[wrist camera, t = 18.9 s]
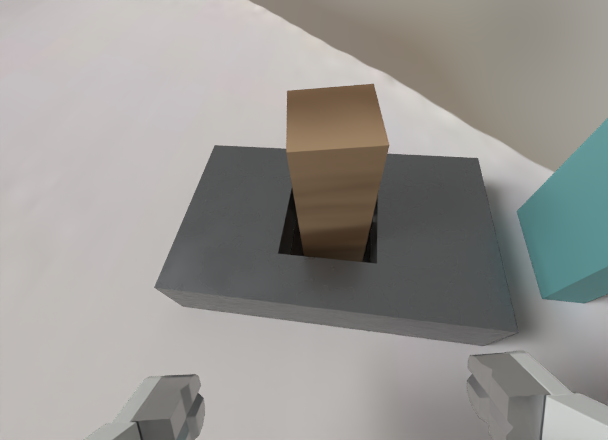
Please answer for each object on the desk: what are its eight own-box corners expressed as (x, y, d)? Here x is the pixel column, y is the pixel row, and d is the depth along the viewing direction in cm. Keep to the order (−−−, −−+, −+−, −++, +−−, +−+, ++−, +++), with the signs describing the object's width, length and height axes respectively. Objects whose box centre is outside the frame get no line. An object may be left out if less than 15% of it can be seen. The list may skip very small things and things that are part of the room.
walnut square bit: (360, 267, 21) (389, 145, 11) (306, 270, 22) (286, 152, 11) (354, 221, 23) (373, 83, 13) (305, 224, 24) (287, 90, 14)
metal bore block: (483, 345, 18) (518, 332, 15) (182, 306, 21) (154, 287, 17) (457, 192, 24) (478, 158, 21) (229, 177, 27) (214, 145, 24)
